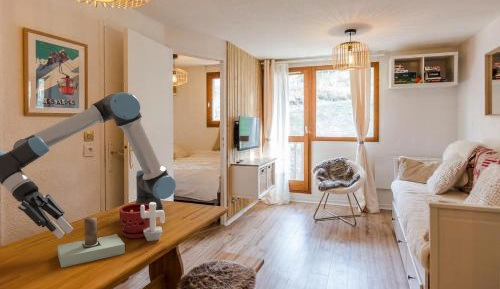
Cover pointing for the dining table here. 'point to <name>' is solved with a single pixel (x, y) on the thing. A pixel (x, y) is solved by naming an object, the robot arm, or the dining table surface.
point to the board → (90, 250)
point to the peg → (90, 232)
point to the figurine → (152, 221)
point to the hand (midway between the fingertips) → (66, 233)
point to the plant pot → (133, 220)
